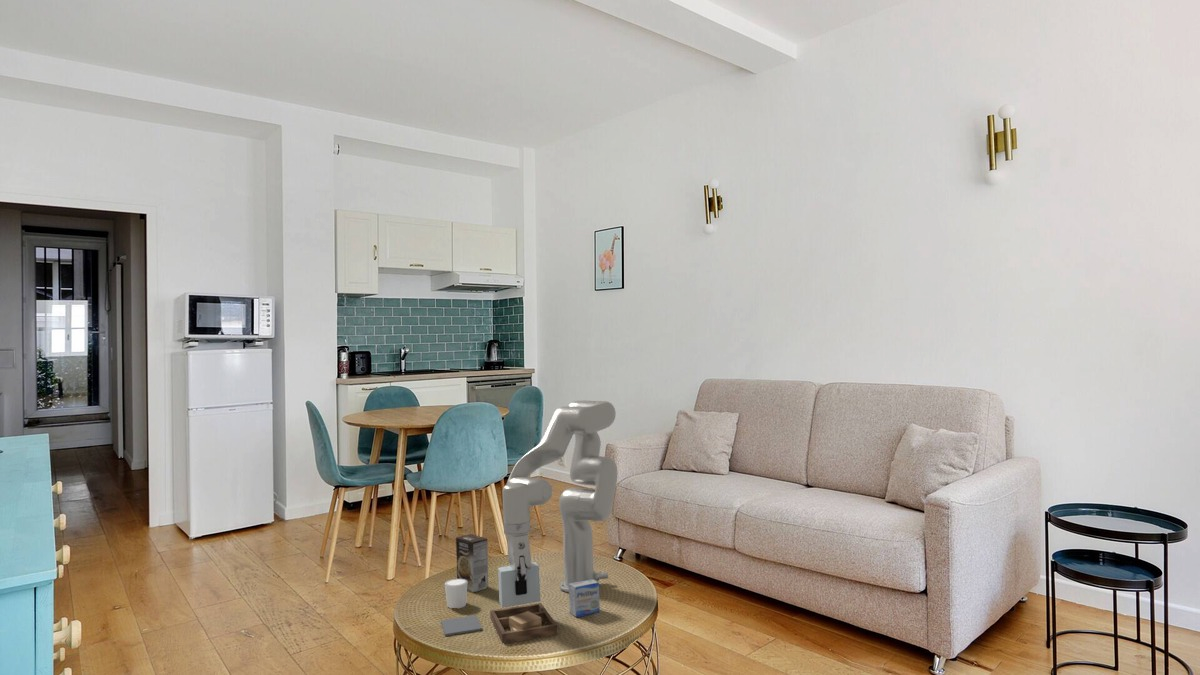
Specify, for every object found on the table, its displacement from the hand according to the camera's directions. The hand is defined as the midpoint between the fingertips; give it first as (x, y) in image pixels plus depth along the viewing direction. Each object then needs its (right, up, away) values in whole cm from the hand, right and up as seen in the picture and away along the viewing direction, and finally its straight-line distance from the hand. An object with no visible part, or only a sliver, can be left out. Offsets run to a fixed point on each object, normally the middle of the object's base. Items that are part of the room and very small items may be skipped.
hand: (519, 590), depth 197 cm
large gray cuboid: (0, -3, 0) cm, 3 cm away
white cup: (-21, -9, +12) cm, 26 cm away
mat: (-16, -8, -4) cm, 18 cm away
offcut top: (+3, -6, -9) cm, 11 cm away
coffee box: (-19, -9, +28) cm, 35 cm away
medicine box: (+18, -8, +4) cm, 21 cm away
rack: (+2, -8, -5) cm, 10 cm away
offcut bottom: (+3, -9, -8) cm, 12 cm away
